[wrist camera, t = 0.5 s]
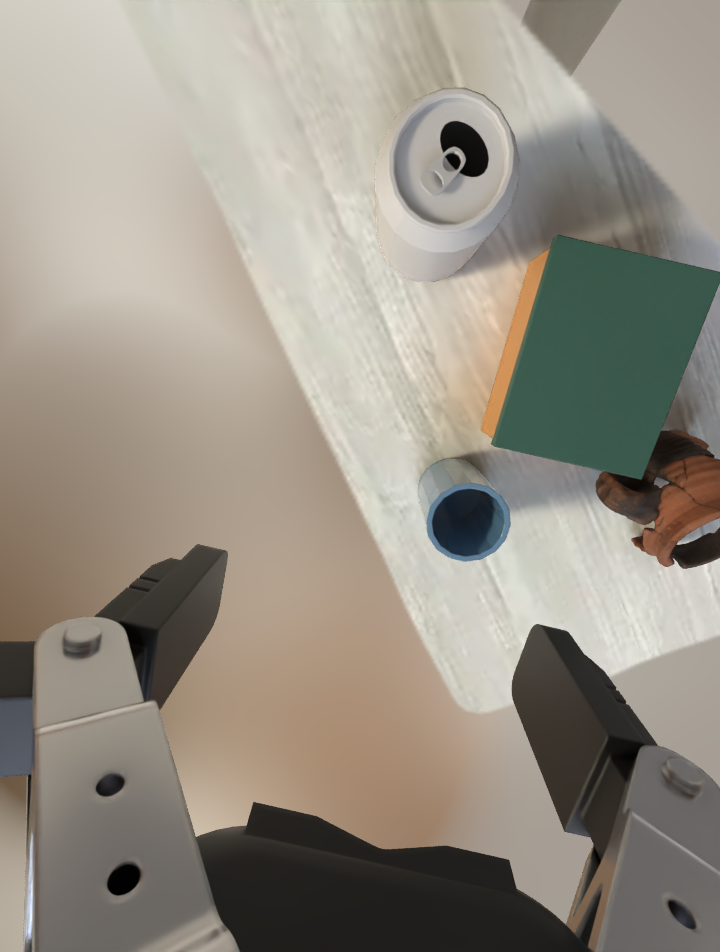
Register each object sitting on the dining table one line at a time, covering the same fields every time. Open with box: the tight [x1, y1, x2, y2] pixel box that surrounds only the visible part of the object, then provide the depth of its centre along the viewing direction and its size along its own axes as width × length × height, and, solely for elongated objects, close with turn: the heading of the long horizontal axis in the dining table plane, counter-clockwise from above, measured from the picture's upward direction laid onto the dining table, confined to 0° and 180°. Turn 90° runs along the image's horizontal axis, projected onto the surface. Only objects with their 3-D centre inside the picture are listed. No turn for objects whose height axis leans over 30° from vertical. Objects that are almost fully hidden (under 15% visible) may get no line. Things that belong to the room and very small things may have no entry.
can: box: [375, 88, 520, 282], centre depth 27 cm, size 8×8×12 cm
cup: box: [418, 458, 511, 562], centre depth 34 cm, size 6×6×8 cm
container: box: [481, 235, 720, 479], centre depth 32 cm, size 14×11×6 cm
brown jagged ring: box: [596, 430, 720, 569], centre depth 35 cm, size 12×9×8 cm
